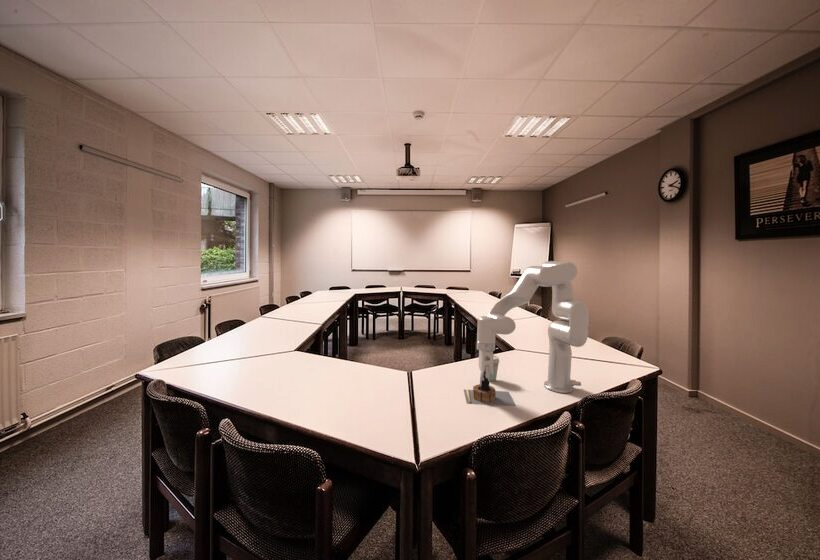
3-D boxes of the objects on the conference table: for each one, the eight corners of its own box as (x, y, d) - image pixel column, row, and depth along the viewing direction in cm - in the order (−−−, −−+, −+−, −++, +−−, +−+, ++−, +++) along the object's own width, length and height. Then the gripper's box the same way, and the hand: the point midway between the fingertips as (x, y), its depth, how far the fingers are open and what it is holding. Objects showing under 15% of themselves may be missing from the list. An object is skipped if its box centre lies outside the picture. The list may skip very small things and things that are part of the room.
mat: (508, 392, 144) (508, 389, 144) (516, 407, 130) (516, 404, 130) (463, 390, 146) (463, 387, 146) (466, 405, 132) (466, 401, 132)
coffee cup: (499, 384, 153) (500, 360, 152) (481, 383, 155) (481, 358, 154) (498, 378, 161) (498, 354, 161) (480, 376, 163) (481, 353, 162)
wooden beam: (487, 393, 139) (487, 368, 138) (488, 396, 136) (489, 370, 135) (480, 392, 139) (480, 368, 138) (481, 395, 136) (481, 370, 135)
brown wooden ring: (492, 393, 142) (493, 384, 141) (496, 402, 133) (496, 393, 133) (472, 392, 142) (472, 383, 142) (474, 401, 134) (474, 392, 133)
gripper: (498, 351, 127) (497, 396, 129) (491, 340, 144) (490, 380, 145) (479, 351, 128) (478, 395, 130) (474, 340, 144) (473, 380, 146)
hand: (484, 387), depth 137 cm, fingers closed on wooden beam, 2 cm apart
